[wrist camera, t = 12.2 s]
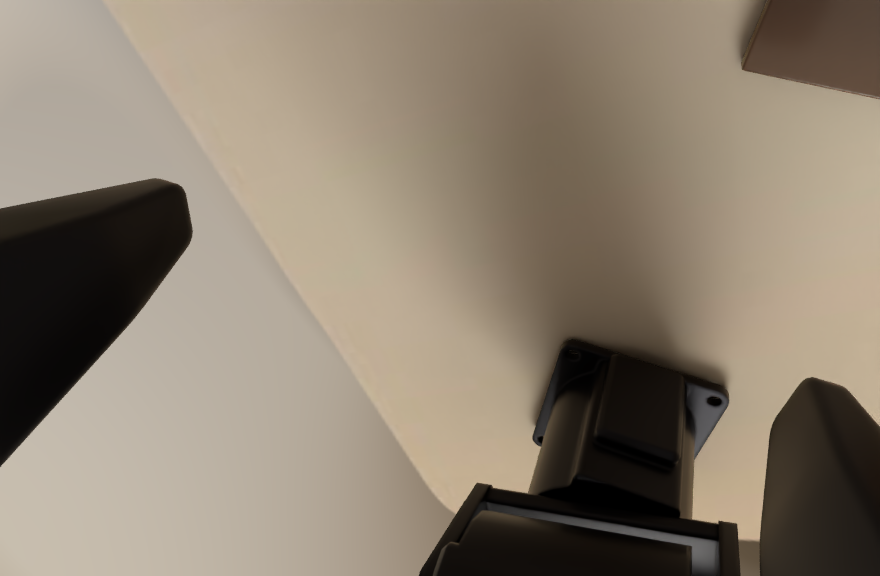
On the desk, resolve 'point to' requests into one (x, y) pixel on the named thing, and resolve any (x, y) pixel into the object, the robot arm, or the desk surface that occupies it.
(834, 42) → the walnut ruler
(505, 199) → the desk surface
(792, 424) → the robot arm
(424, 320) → the desk surface
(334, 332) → the desk surface
